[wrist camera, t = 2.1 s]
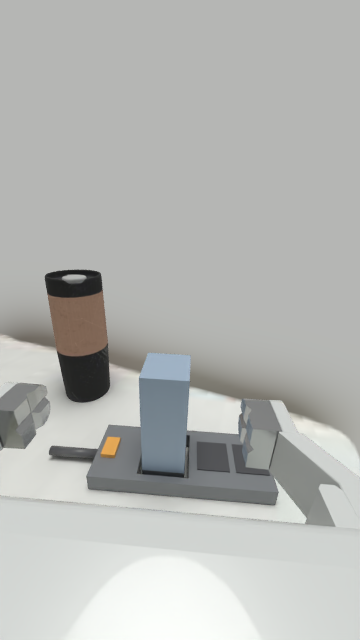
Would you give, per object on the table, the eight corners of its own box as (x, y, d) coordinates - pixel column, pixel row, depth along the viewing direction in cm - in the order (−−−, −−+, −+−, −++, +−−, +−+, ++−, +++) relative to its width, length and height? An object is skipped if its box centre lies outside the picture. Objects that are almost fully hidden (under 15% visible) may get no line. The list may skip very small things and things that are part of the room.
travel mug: (86, 371, 46) (72, 267, 39) (119, 381, 43) (112, 272, 36) (54, 396, 39) (30, 275, 32) (91, 409, 37) (75, 282, 29)
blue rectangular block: (142, 482, 27) (138, 377, 21) (150, 446, 31) (148, 352, 26) (183, 485, 26) (189, 381, 21) (185, 449, 31) (190, 354, 26)
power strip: (34, 484, 26) (30, 468, 25) (66, 432, 32) (64, 418, 32) (275, 504, 25) (279, 489, 24) (258, 447, 31) (261, 433, 30)
